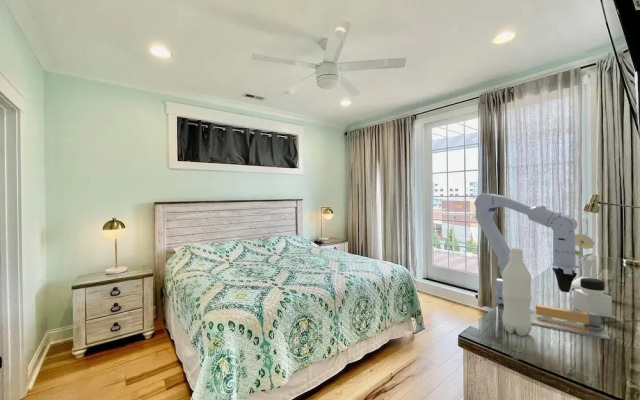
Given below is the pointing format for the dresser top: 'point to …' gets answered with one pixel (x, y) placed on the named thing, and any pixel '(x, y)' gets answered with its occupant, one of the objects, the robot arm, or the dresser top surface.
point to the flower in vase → (584, 243)
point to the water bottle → (516, 294)
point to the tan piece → (569, 315)
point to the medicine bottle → (592, 297)
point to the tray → (567, 325)
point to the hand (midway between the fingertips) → (564, 290)
